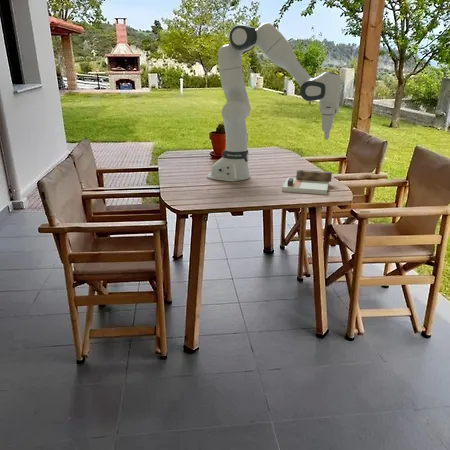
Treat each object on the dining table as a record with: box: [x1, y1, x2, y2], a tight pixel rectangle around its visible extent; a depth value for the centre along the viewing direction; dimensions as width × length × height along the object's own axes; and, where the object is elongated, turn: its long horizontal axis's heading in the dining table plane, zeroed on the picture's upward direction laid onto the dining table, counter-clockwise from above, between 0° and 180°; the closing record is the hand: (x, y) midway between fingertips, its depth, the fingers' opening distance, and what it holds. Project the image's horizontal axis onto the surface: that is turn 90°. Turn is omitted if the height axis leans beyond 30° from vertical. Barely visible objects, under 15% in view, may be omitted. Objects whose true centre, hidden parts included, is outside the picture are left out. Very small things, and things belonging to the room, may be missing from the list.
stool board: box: [281, 176, 330, 195], centre depth 191 cm, size 20×18×4 cm
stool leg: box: [295, 169, 333, 183], centre depth 196 cm, size 17×3×4 cm, turn 73°
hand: (326, 138), depth 194 cm, fingers open, 2 cm apart
